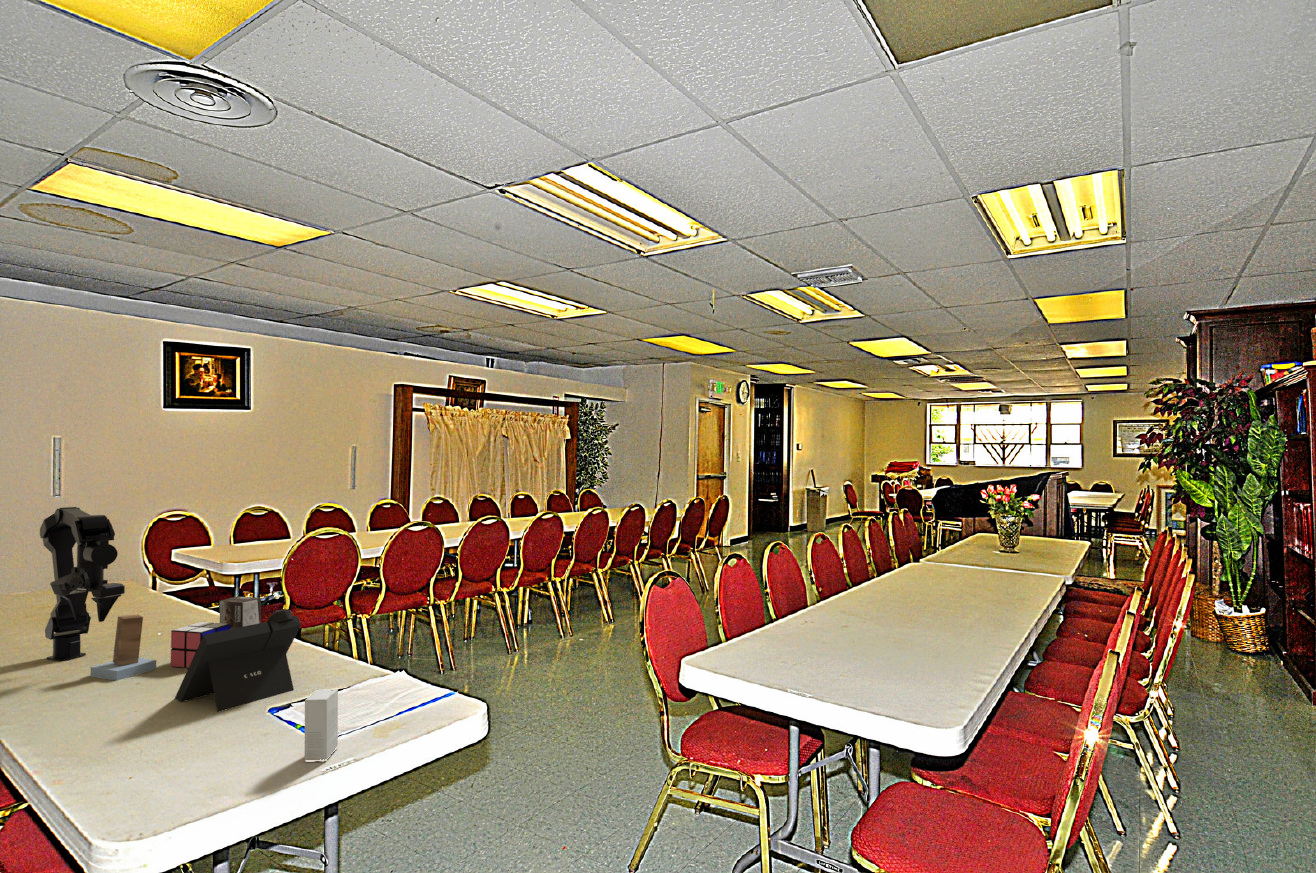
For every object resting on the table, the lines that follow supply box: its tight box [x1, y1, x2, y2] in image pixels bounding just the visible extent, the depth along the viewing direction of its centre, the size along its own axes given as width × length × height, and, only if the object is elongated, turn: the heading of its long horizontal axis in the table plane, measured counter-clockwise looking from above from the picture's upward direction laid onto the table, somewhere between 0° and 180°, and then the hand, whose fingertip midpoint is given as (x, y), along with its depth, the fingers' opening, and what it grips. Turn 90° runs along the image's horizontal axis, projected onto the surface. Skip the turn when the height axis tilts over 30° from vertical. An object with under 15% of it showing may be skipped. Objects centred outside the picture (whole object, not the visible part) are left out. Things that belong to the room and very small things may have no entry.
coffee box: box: [219, 596, 262, 629], centre depth 203 cm, size 9×6×16 cm
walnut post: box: [112, 614, 144, 665], centre depth 188 cm, size 4×4×12 cm
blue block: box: [89, 657, 157, 682], centre depth 187 cm, size 10×10×3 cm
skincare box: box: [304, 688, 339, 761], centre depth 137 cm, size 6×4×12 cm
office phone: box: [174, 608, 302, 713], centre depth 178 cm, size 29×28×20 cm
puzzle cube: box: [170, 621, 230, 669], centre depth 196 cm, size 10×10×10 cm
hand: (89, 620), depth 190 cm, fingers open, 9 cm apart
